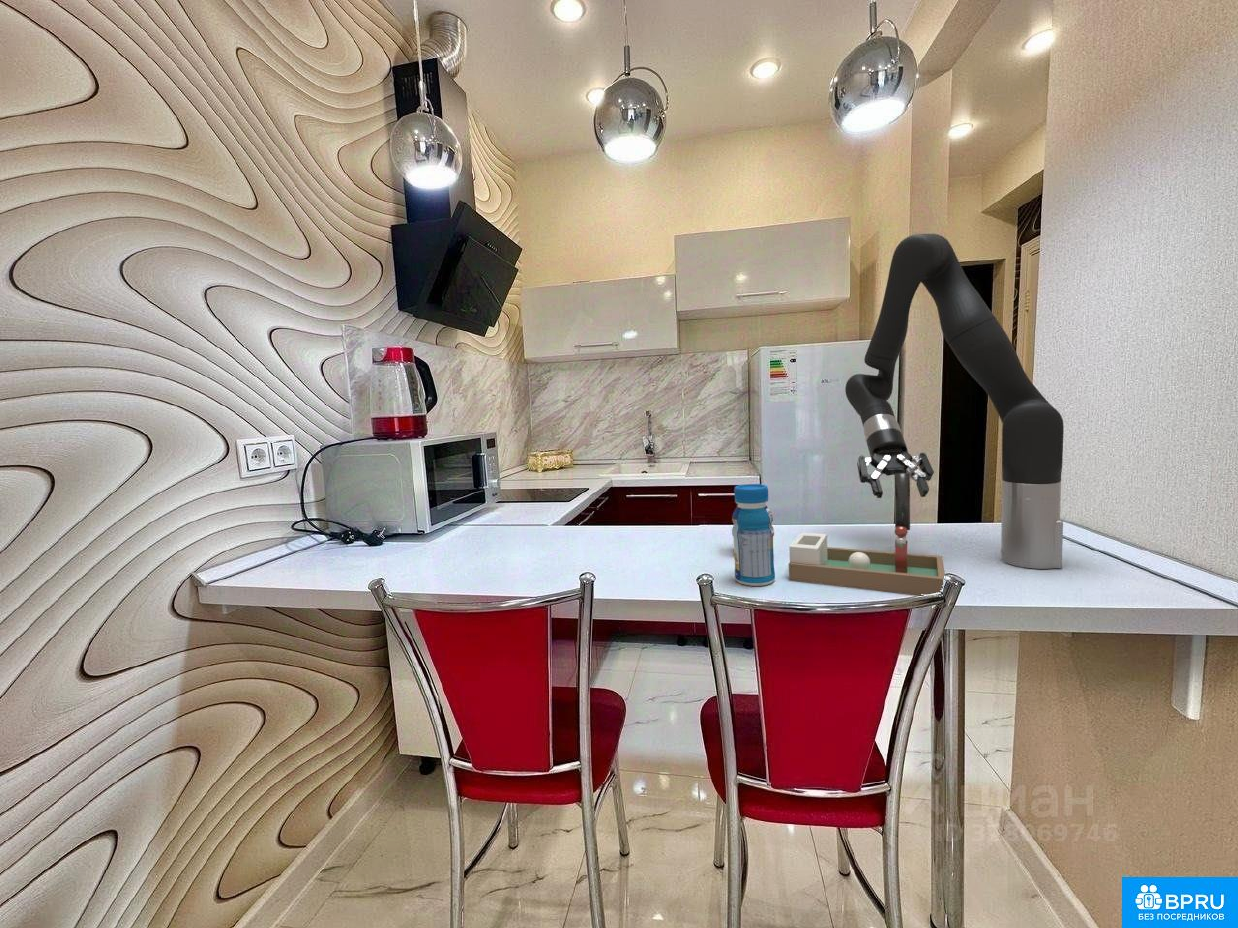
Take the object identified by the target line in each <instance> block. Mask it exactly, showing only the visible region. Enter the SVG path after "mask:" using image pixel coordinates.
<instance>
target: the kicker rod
mask: <svg viewBox="0 0 1238 928" xmlns="http://www.w3.org/2000/svg"><path fill="white" fill-rule="evenodd" d="M910 530H911V478H910V473H905V472H899V473H895V475H894V534H895V536H896V539H895V540H894V541H895V542H894V552H895V572H897V573H907V553H908V540H907V535H908V531H910Z"/></svg>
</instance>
